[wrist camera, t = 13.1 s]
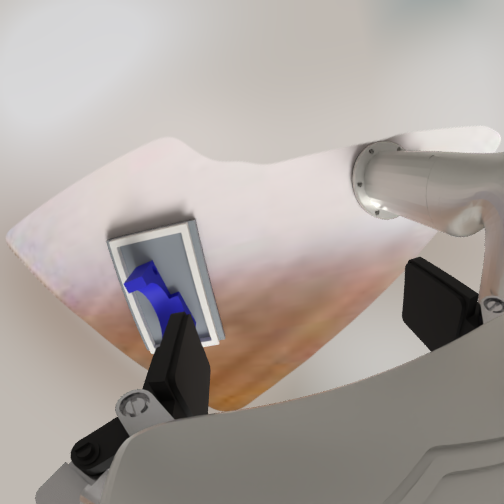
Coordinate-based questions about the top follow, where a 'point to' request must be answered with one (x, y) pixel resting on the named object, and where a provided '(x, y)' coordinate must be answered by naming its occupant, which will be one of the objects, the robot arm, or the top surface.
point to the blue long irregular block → (156, 293)
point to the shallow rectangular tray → (169, 278)
